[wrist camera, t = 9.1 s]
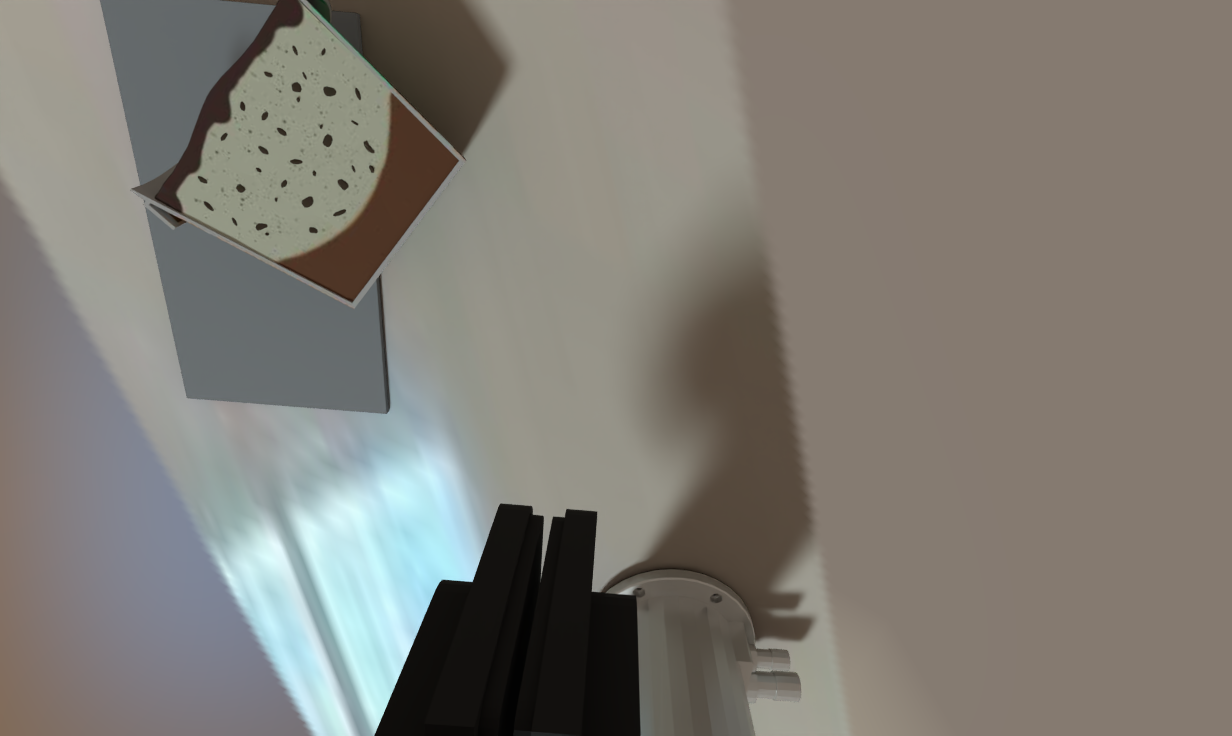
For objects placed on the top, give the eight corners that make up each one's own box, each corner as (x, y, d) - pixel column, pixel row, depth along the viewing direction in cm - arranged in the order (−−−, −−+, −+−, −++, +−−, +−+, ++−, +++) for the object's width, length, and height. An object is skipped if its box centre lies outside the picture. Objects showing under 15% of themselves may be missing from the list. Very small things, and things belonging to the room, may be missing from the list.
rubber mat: (359, 14, 29) (356, 12, 28) (388, 410, 37) (386, 413, 36) (104, -9, 28) (97, -11, 28) (191, 395, 37) (186, 398, 36)
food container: (488, 126, 32) (318, -22, 28) (485, 134, 27) (274, -49, 22) (362, 292, 35) (190, 180, 30) (337, 330, 29) (123, 199, 25)
